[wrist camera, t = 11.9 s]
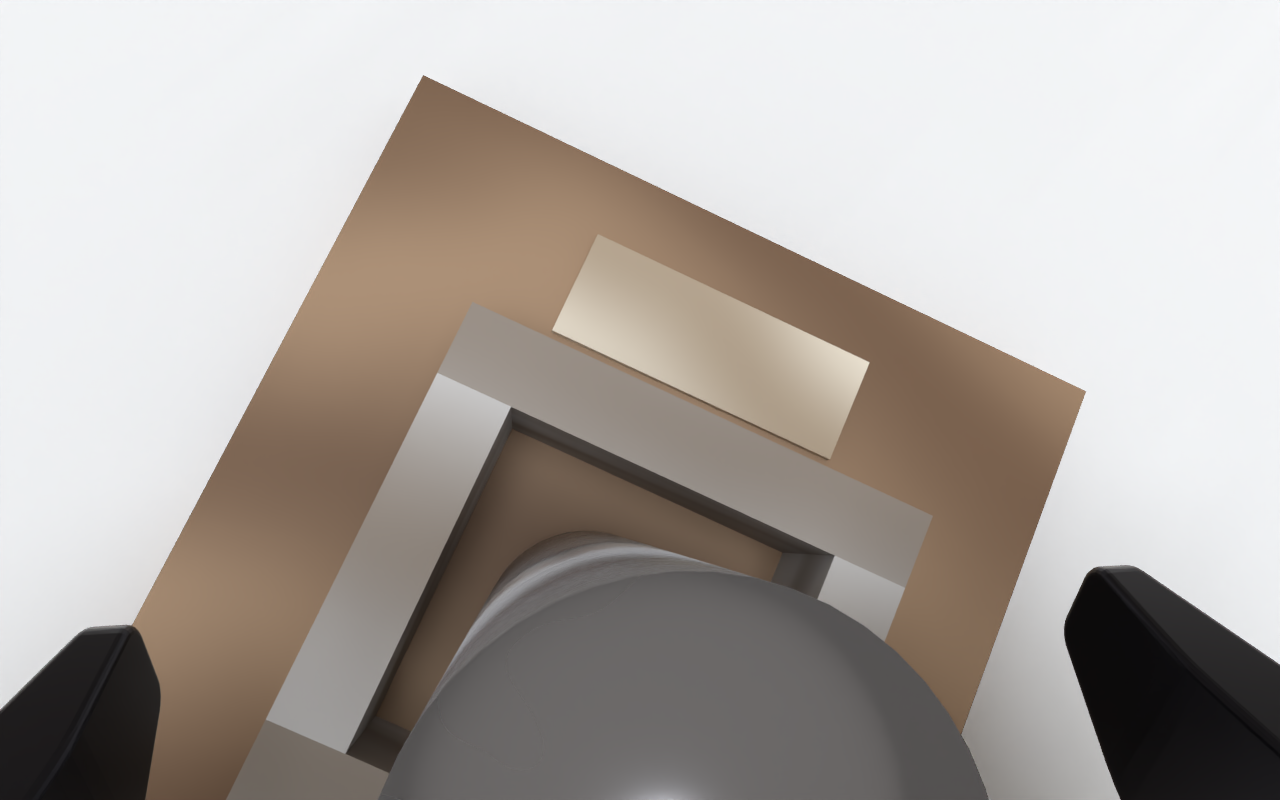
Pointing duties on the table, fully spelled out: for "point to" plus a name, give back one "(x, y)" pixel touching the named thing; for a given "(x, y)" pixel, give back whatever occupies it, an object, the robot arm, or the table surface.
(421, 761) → the steel peg
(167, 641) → the board
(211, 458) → the table surface
